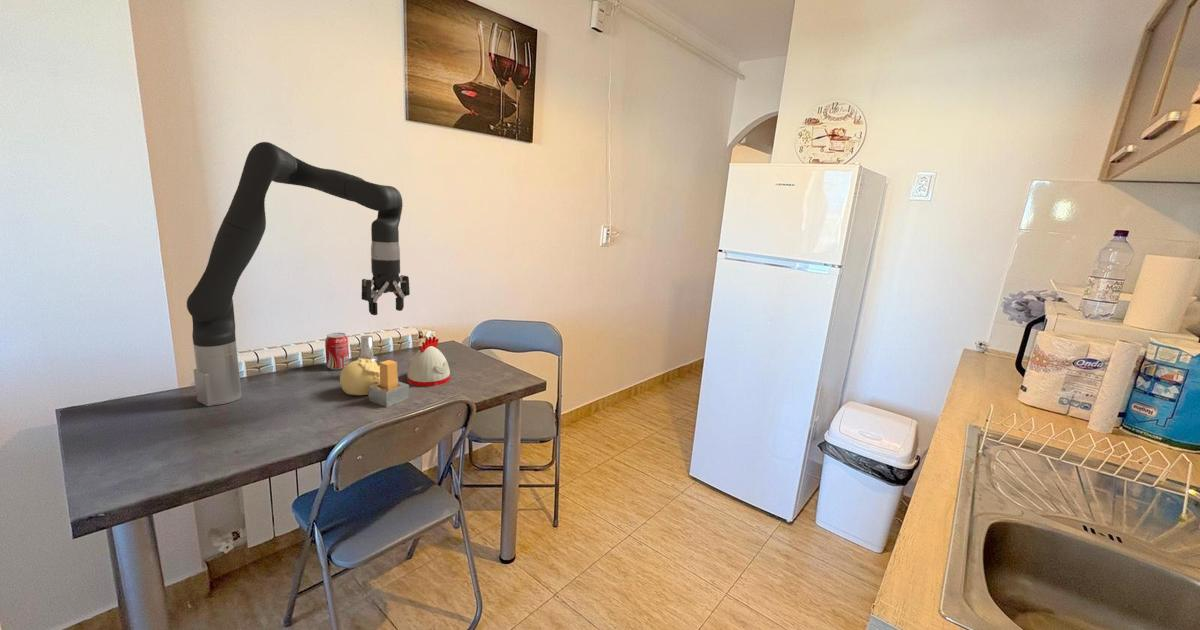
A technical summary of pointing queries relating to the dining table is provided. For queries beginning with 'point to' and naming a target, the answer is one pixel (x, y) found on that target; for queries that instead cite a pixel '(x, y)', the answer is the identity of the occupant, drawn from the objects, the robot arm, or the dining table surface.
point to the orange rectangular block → (388, 374)
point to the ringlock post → (367, 348)
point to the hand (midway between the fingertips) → (387, 312)
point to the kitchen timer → (428, 366)
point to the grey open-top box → (388, 394)
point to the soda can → (336, 351)
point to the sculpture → (359, 376)
